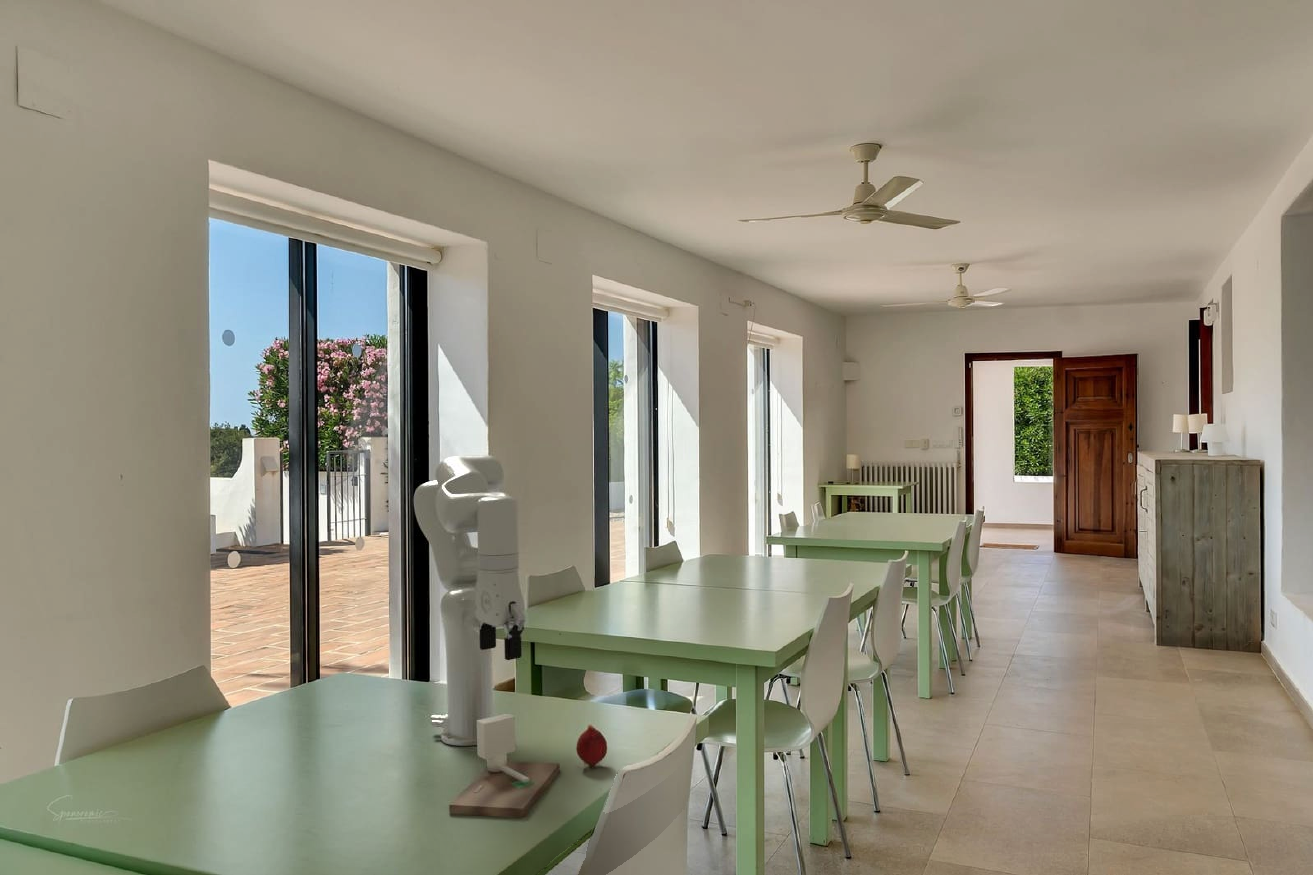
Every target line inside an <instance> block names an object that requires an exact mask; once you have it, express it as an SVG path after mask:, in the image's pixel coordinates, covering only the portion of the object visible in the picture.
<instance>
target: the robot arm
mask: <svg viewBox="0 0 1313 875" xmlns="http://www.w3.org/2000/svg"><path fill="white" fill-rule="evenodd" d="M504 476H505V475H504V469H503V466H502V463H501V462H500V461H499V459H498V458H497V457H495V456H493V455H491V454H487V455H486V454H482V455H480V454H479V455H478V454H477V455H454V456H449V457H447V458H444V459H443V460H442V461H441V462H440V463H439V464H438V465H437V467H436V469H435V480H431V481H427V482H425V483H422V484H420V485H419V486H418V487H417V488H416V489H415V492H414V495H413V508H414V514H415V517H416V521H417V523H418V526H419V528H420V530H421V531H422V533H423V536H424V537H425V538H426V540H427V542H428V543H429V545H430V546H431V550H432V555H433V558H434V563H435V566H436V569H437V573H438V577H439V581H440V584H441V585H442V587H443V589H444V590H446V591H447V592H446V593H445V594H443V596H442V597H441V600H440V606H439V608H440V616H441V622H442V627H443V628H442V629H443V633H444V643H445V660H446V662H445V663H446V664H445V666H446V695H447V696H446V697H447V699H446V700H447V701H446V702H447V714H445V715H441V714H433V715H431V717H430V723H431V727H432V728H442V729H443V730H442V731H441V733H440V740H441V742H443V744H447V745H451V746H458V747H459V746H460V747H461V746H462V747H465V746H468V747H469V746H477V720H481V719H486V718H490V717H494V715H495V714H494V677H493V676H494V675H493V652H492V650H491V649H495V648H496V647H497V630H499V629H500V630H501V629H502V630H503V631H504V634H505V637H504V660H506V661H511V660H515V659H521V657H522V656H523V655H522V637H523V631H524V629H525V621H526V615H525V613H526V612H525V610H526V608H525V606H526V605H525V600H524V596H523V592H522V590H521V585H520V578H519V577H520V576H519V572H518V571H519V570H520V560H519V559H520V558H519V557H520V555H519V554H520V553H519V513H518V512H519V510H518V509H519V508H518V507H519V506H518V502H517V500H516V499H515V497H513V496H510V494H508V493H506V492H501V490H502V488H503V484H504ZM468 533H477V547H474V546H473V545H472V544H471V540H470V536H469V534H468ZM510 628H511V629H510Z"/></svg>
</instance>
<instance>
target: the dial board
mask: <svg viewBox="0 0 1313 875" xmlns="http://www.w3.org/2000/svg"><path fill="white" fill-rule="evenodd" d="M560 763H561V762H560ZM560 763H559V762H546V761H545V762H541V761H540V762H539V761H538V762H537V761H520V760H519V761H518V760H507V767H509V768H511V769H513V770H515V771H516V772H518V773H520V774H522V775H524V776H526V777H528V778H529V781H528V782H522V781H521V780H519V779H517V778H515V777H513V776H511V775H509V774H508V773H506V772H504V771H500V772H490V771H488V770H487V767H486V768H485V769H483V771H481V773H479V775H478V776H476V777H475V779H474V780H472V781H471V782H470V783H469V784H468V785H467V786H466V787H465V788H464V789H463V790H462V792H460V794H458V795H457V796H456V797H455V798H454V799H453V800H452V802H450V804H448V805H449V806H448V808H449V809H448V810H449V814H450V815H466V816H468V815H469V816H485V817H487V816H488V817H504V818H519V819H520V818H525V817H526V816H527V814H528V812H529V811H530V810H531V809H532V807H533V806H534V805H535V803H537V801H538V800H539V798H540V797H541V796H542V795H543V794H544V792H545V791H546V789H547V788H548V787H549V786H550V785H551V784H552V782H553V780H554V779H555V778H556V777H557V775H558V774H559V773H560V771H561V764H560Z"/></svg>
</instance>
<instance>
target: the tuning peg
mask: <svg viewBox="0 0 1313 875" xmlns="http://www.w3.org/2000/svg"><path fill="white" fill-rule="evenodd" d="M476 746H477V747H476V748H477V756H478V757H480V758H481V759H484V760H486V768H487V770H488V771H490V772H500V771H504V772H506V773H508V774H509V775H511V776H513V777H515V778H517V779H519V780H521V781H522V782H528V781H529V778H528V777H526V776H524V775H522V774H520V773H518V772H516V771H515V770H513V769H511V768H509V767H507V761H508V755H507V754H509V753H513V752H516V751H517V747H516V716H514V715H513V714H510V713H508V712H507V713H504V714H500V715H495V716H494V717H490V718H486V719H481V720H477V745H476Z"/></svg>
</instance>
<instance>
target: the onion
mask: <svg viewBox="0 0 1313 875" xmlns="http://www.w3.org/2000/svg"><path fill="white" fill-rule="evenodd" d="M587 725H588V726H587V729H586V730H585V731H584V732H582V733H581V734H580V735H579V737H578V739H577V741H576V748H575V749H576V753H577V756H578V757H579V759H580V760H581V761H583V763H584V764H586V765H587V766H589V767H590V768H592V767H595V766H596V765H597V764H599V763H600V762H601V761H602V760H603V759H604V758H605V757H606V755H607V753H608V743H607V740H606V738H605V736H604V735H603V733H602V732H601V731H599V730H598V729H596V728H595V727H594V726H593V725H592V724H591V723H589V724H587Z"/></svg>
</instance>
